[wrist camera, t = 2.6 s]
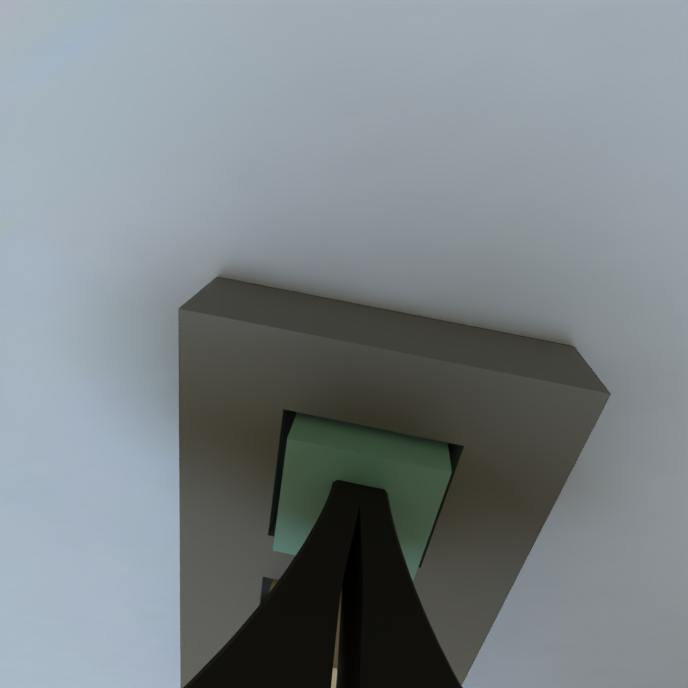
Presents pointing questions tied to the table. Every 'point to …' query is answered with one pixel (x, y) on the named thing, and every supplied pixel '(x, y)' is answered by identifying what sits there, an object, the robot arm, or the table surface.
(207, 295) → the keypad
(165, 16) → the table surface
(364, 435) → the key teal
